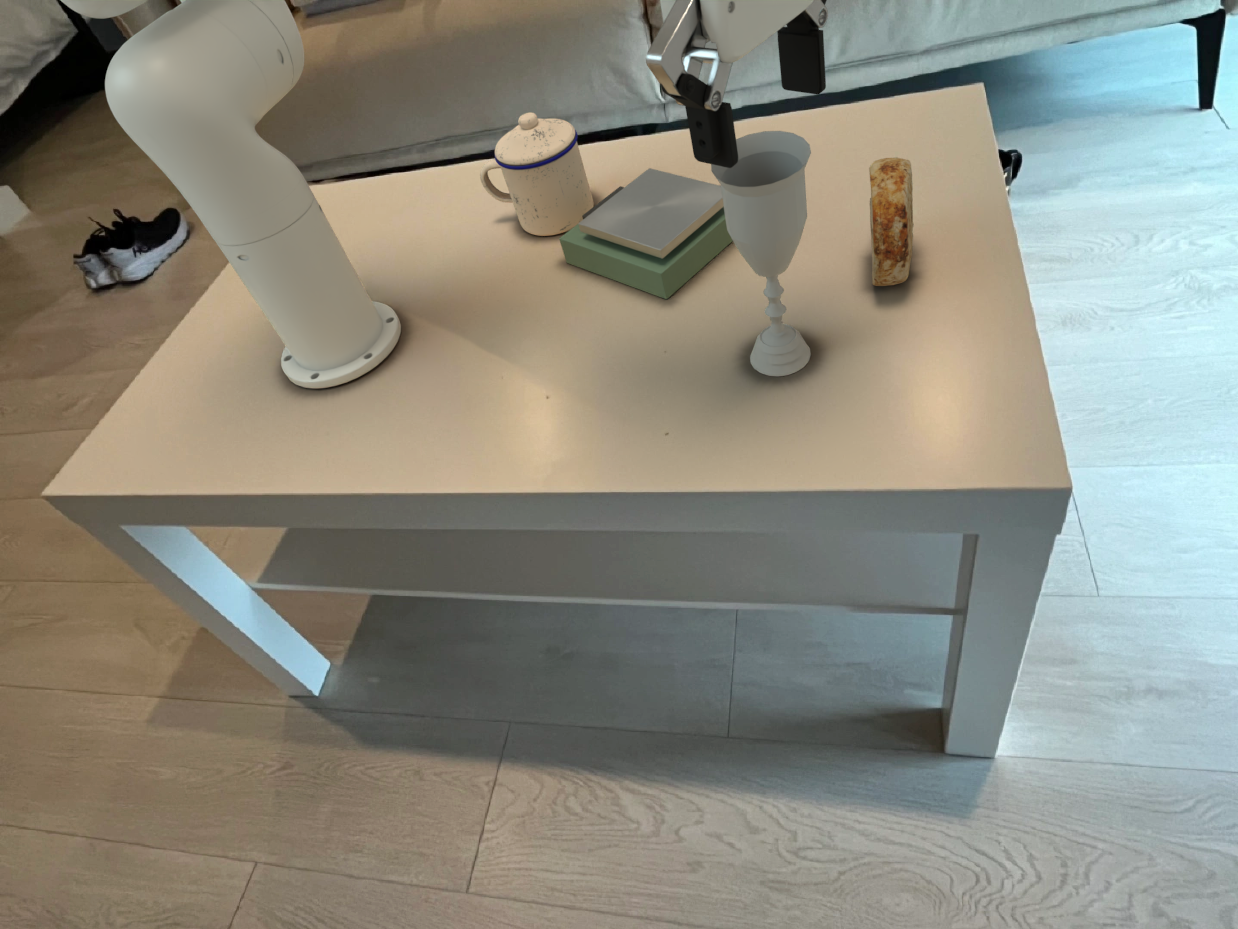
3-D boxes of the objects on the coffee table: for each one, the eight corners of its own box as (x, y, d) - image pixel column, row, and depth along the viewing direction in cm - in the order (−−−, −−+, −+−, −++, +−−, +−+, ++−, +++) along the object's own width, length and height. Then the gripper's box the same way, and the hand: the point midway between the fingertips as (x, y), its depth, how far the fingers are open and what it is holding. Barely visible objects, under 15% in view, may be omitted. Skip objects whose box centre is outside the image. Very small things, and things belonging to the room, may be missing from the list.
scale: (566, 262, 86) (557, 233, 83) (646, 198, 91) (640, 168, 88) (666, 299, 78) (659, 268, 75) (748, 227, 83) (745, 195, 80)
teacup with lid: (603, 189, 94) (577, 89, 86) (587, 234, 88) (557, 132, 80) (507, 199, 97) (474, 104, 89) (486, 244, 92) (447, 146, 83)
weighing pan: (580, 231, 82) (577, 223, 81) (651, 176, 86) (649, 167, 85) (662, 259, 75) (660, 250, 75) (734, 197, 80) (733, 188, 79)
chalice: (819, 384, 66) (808, 181, 53) (735, 386, 68) (704, 191, 55) (823, 325, 70) (813, 125, 57) (744, 329, 72) (717, 136, 59)
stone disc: (912, 306, 69) (917, 201, 62) (866, 307, 70) (866, 205, 63) (911, 235, 76) (916, 133, 69) (869, 237, 77) (870, 137, 70)
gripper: (766, -239, 47) (789, 60, 60) (561, -129, 41) (635, 182, 53) (883, -256, 43) (882, 70, 55) (675, -135, 36) (727, 205, 49)
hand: (761, 125), depth 54 cm, fingers open, 9 cm apart
